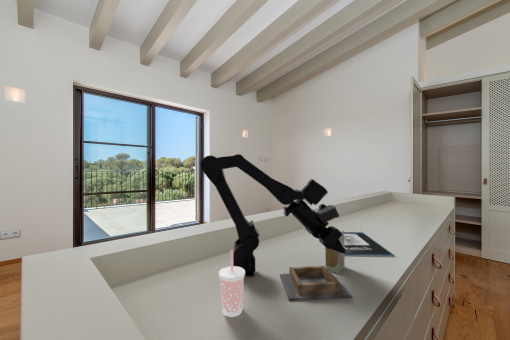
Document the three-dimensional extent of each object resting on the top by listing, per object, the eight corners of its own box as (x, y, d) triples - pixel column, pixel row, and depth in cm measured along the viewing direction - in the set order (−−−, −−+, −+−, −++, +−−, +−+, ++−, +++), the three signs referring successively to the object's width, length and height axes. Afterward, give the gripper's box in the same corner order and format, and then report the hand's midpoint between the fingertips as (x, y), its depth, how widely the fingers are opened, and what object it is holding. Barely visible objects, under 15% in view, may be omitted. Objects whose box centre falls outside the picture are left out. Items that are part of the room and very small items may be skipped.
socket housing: (289, 300, 55) (289, 288, 55) (279, 276, 68) (279, 265, 68) (351, 297, 56) (351, 285, 56) (330, 273, 69) (330, 263, 69)
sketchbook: (334, 257, 84) (334, 252, 84) (318, 234, 114) (318, 230, 114) (394, 258, 82) (394, 252, 82) (361, 234, 112) (361, 230, 112)
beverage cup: (220, 303, 55) (219, 245, 55) (245, 302, 55) (244, 245, 55) (217, 319, 48) (216, 255, 49) (245, 318, 49) (245, 254, 49)
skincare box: (332, 263, 77) (331, 228, 77) (345, 266, 74) (344, 230, 74) (324, 270, 72) (324, 232, 72) (338, 273, 69) (338, 234, 69)
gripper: (335, 201, 64) (372, 239, 64) (313, 194, 82) (342, 223, 83) (308, 229, 63) (346, 267, 64) (292, 216, 82) (322, 245, 82)
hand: (339, 248), depth 73 cm, fingers closed on skincare box, 7 cm apart
